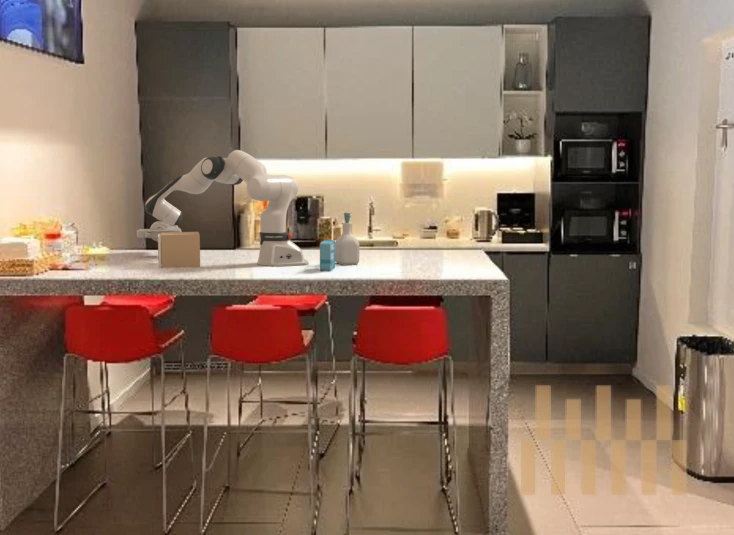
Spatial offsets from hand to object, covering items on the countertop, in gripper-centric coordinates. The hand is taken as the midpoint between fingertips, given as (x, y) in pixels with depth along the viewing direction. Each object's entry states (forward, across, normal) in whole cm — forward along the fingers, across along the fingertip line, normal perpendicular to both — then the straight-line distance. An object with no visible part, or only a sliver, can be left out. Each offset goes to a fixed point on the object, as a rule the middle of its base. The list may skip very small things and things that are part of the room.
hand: (159, 235), depth 372 cm
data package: (+47, +69, +11) cm, 84 cm away
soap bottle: (+31, +81, +11) cm, 87 cm away
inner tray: (+21, +8, +10) cm, 25 cm away
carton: (+23, +9, +11) cm, 27 cm away
